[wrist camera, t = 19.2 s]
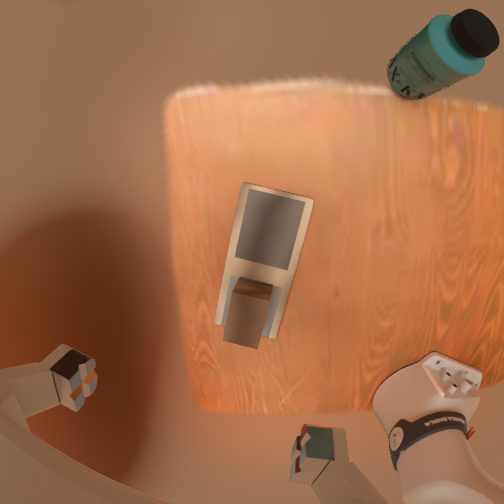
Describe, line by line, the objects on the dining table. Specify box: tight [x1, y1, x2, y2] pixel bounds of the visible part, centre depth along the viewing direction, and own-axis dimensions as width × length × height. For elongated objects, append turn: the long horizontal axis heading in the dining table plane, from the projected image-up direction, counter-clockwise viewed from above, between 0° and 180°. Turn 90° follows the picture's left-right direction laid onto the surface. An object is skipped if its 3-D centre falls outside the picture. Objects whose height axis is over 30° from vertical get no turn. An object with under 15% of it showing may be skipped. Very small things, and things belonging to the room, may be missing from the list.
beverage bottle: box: [387, 9, 499, 99], centre depth 22 cm, size 6×7×20 cm
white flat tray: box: [214, 182, 314, 339], centre depth 40 cm, size 9×20×2 cm, turn 168°
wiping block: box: [223, 277, 273, 349], centre depth 39 cm, size 4×7×5 cm, turn 168°
